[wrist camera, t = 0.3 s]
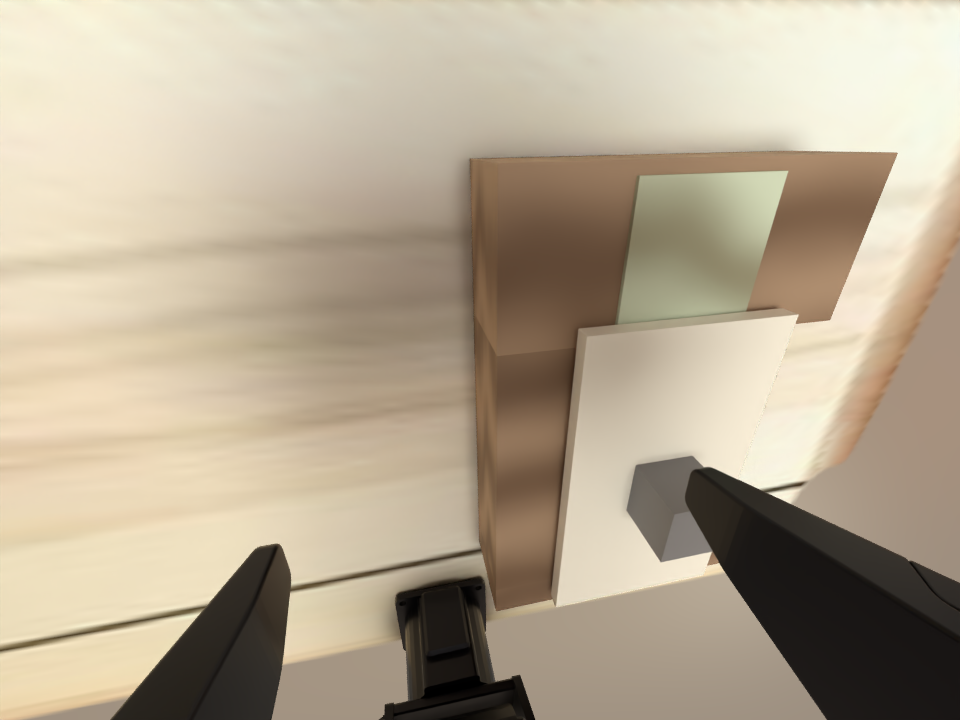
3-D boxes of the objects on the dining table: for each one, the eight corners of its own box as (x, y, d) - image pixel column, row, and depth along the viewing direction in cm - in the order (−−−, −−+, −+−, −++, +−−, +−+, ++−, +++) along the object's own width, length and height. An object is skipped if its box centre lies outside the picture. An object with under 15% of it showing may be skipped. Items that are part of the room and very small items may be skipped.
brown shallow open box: (684, 503, 32) (734, 562, 27) (479, 541, 29) (496, 614, 24) (788, 151, 20) (903, 152, 16) (470, 158, 18) (499, 163, 13)
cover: (694, 563, 26) (740, 624, 23) (551, 594, 24) (577, 664, 21) (782, 307, 18) (872, 344, 15) (578, 328, 16) (627, 374, 13)
